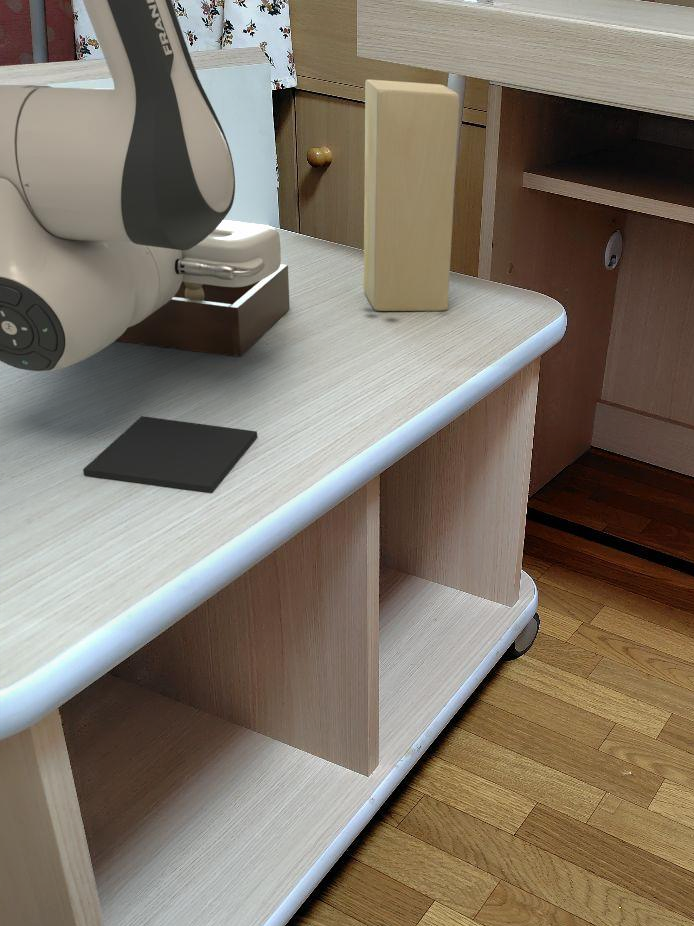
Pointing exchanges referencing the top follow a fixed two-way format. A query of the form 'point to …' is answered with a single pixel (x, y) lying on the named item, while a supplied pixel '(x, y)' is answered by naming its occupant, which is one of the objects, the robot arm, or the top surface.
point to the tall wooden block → (409, 194)
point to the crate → (216, 317)
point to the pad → (172, 454)
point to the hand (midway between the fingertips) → (191, 219)
